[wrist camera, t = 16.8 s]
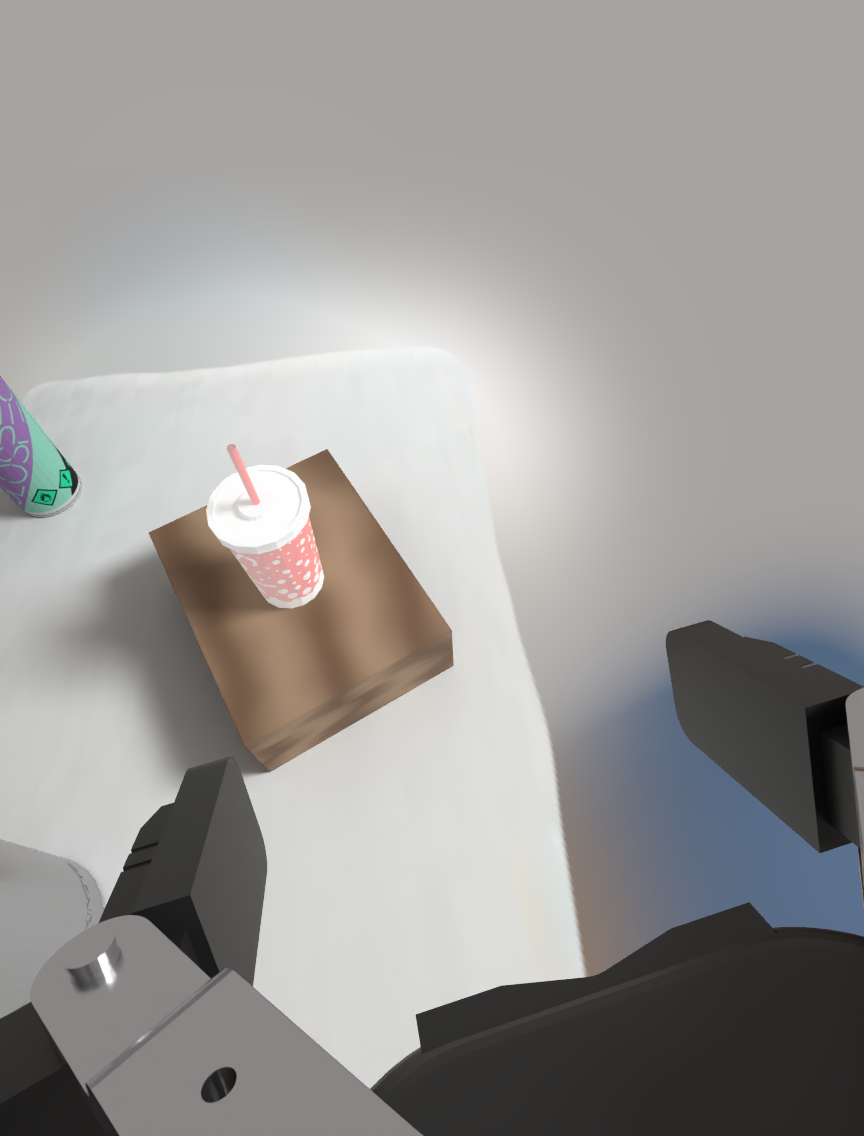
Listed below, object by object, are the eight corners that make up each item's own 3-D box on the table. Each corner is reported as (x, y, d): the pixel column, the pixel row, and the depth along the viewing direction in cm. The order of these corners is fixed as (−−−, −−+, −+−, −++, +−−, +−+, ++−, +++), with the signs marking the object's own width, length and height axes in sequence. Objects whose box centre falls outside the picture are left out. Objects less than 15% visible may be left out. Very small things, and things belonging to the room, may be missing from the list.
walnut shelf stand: (269, 771, 47) (244, 746, 41) (178, 573, 55) (148, 532, 50) (453, 665, 50) (451, 630, 45) (339, 494, 59) (327, 449, 54)
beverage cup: (237, 566, 48) (159, 432, 36) (315, 531, 50) (265, 390, 38) (266, 633, 45) (192, 511, 33) (348, 594, 47) (306, 463, 35)
